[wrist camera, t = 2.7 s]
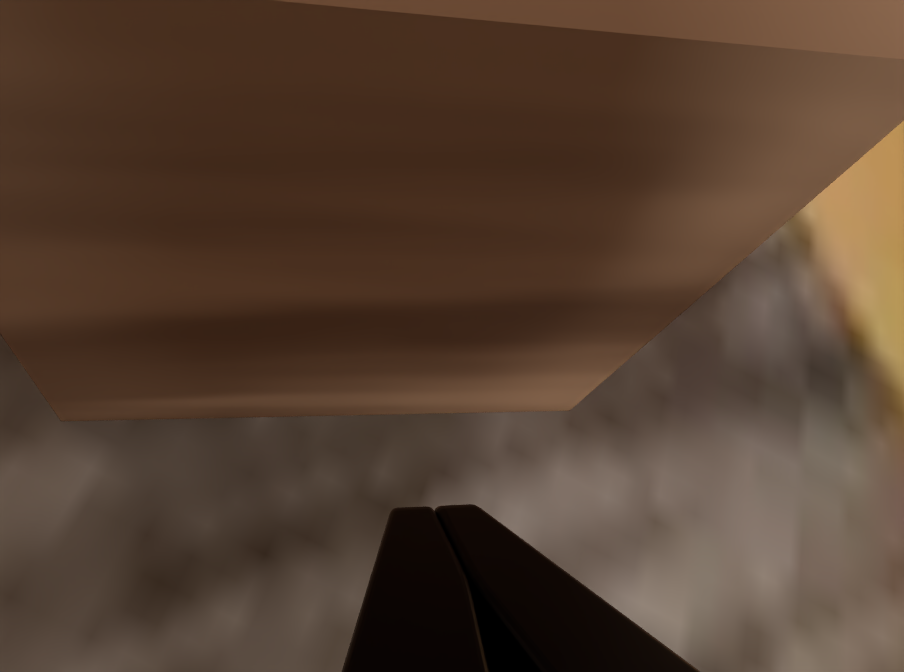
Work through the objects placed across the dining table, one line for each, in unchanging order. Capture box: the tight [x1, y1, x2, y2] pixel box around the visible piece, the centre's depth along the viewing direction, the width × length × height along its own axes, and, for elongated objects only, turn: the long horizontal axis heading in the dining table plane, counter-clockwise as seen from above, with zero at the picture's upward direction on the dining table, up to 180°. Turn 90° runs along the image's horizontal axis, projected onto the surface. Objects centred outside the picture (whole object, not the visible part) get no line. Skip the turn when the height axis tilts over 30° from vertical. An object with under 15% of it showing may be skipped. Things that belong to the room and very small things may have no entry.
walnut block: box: [0, 0, 904, 421], centre depth 12 cm, size 4×10×11 cm, turn 95°
